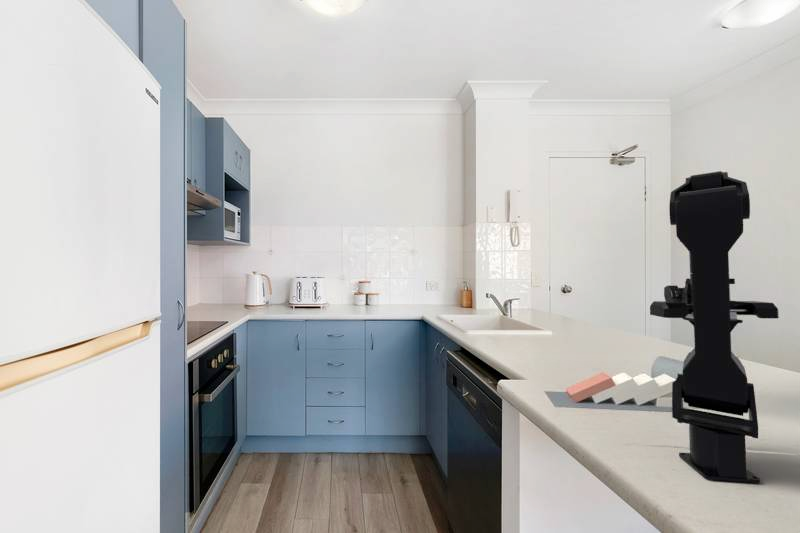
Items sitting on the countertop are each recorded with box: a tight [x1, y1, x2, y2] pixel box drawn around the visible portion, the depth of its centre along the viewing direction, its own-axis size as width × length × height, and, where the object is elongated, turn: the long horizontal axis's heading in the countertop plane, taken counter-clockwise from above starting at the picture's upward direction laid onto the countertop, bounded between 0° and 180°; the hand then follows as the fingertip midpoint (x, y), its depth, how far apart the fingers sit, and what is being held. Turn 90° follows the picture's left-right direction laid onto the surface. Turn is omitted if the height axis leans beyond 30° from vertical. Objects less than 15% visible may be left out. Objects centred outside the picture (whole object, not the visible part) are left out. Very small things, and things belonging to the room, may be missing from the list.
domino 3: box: [609, 372, 658, 405], centre depth 76 cm, size 4×2×9 cm
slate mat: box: [543, 390, 672, 413], centre depth 77 cm, size 10×23×1 cm, turn 80°
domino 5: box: [650, 392, 696, 409], centre depth 75 cm, size 4×2×9 cm
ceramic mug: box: [650, 355, 684, 379], centre depth 84 cm, size 11×8×8 cm
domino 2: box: [589, 371, 637, 403], centre depth 77 cm, size 4×2×9 cm
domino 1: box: [565, 371, 616, 403], centre depth 77 cm, size 4×2×9 cm
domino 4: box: [630, 374, 676, 405], centre depth 75 cm, size 4×2×9 cm
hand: (712, 354), depth 68 cm, fingers closed
